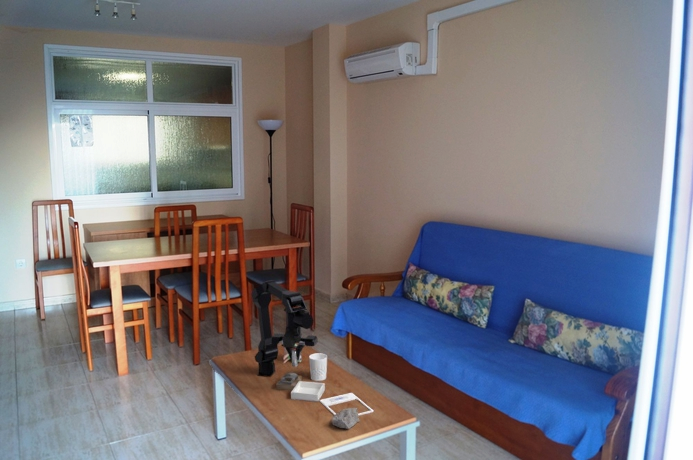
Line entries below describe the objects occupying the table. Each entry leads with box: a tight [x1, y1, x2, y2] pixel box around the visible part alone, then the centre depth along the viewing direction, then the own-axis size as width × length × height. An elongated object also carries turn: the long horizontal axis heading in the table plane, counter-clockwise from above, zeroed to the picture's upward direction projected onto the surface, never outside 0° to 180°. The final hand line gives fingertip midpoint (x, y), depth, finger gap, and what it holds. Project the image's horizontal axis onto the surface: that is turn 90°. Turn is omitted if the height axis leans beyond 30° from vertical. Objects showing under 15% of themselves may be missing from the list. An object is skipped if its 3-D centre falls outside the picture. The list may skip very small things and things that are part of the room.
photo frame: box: [319, 392, 374, 417], centre depth 221 cm, size 15×1×18 cm
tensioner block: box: [275, 372, 303, 392], centre depth 240 cm, size 10×8×4 cm
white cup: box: [308, 352, 328, 382], centre depth 247 cm, size 8×8×10 cm
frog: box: [283, 343, 302, 364], centre depth 267 cm, size 12×10×9 cm
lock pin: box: [290, 346, 299, 368], centre depth 233 cm, size 3×3×8 cm
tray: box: [290, 380, 326, 403], centre depth 231 cm, size 11×11×3 cm
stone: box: [331, 407, 360, 430], centre depth 207 cm, size 8×10×6 cm
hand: (294, 359), depth 233 cm, fingers closed on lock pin, 2 cm apart
